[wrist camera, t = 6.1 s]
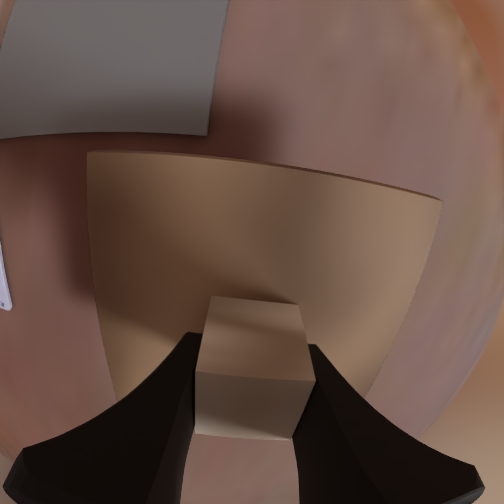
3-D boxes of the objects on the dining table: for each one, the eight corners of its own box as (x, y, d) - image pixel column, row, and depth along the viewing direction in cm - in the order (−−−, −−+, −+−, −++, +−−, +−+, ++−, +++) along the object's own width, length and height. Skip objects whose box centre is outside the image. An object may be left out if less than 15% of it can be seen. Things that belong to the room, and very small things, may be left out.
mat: (-9, 140, 14) (-14, 140, 13) (40, -47, 8) (37, -49, 8) (207, 136, 14) (205, 135, 14) (248, -83, 9) (249, -87, 9)
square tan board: (122, 393, 14) (97, 459, 10) (98, 149, 9) (13, 172, 5) (345, 414, 14) (361, 480, 10) (432, 196, 10) (512, 239, 5)
